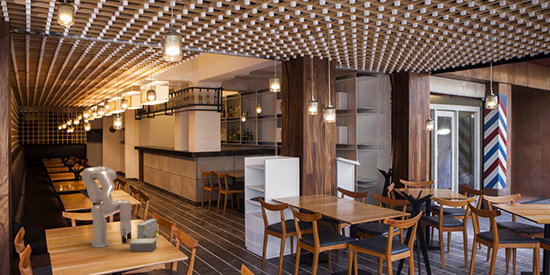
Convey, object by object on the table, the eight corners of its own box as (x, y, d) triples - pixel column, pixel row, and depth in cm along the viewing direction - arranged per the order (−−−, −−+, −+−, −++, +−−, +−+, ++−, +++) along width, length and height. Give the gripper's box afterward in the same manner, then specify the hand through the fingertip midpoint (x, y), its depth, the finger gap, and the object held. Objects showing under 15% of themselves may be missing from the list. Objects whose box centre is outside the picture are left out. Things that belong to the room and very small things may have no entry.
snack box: (143, 244, 304) (143, 224, 304) (137, 244, 305) (136, 224, 305) (157, 236, 325) (156, 218, 324) (151, 236, 326) (150, 218, 326)
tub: (129, 252, 285) (129, 243, 285) (134, 247, 295) (134, 239, 295) (152, 251, 285) (152, 243, 285) (156, 247, 295) (156, 239, 295)
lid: (120, 246, 285) (120, 241, 284) (126, 241, 295) (126, 237, 295) (152, 245, 285) (152, 241, 284) (156, 241, 295) (156, 237, 295)
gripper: (125, 215, 298) (126, 238, 298) (115, 220, 281) (116, 244, 281) (135, 215, 298) (136, 238, 298) (126, 220, 281) (127, 244, 281)
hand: (126, 241), depth 289 cm, fingers open, 9 cm apart
